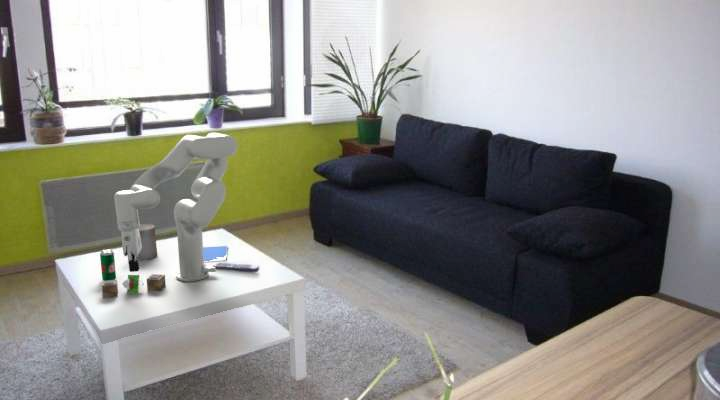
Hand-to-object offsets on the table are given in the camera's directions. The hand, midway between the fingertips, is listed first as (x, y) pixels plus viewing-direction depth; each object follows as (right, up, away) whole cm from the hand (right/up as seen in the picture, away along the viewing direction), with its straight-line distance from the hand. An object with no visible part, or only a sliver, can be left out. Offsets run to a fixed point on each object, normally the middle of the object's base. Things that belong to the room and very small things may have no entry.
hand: (134, 270), depth 240 cm
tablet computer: (+19, +1, +44) cm, 48 cm away
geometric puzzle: (-1, -8, +1) cm, 8 cm away
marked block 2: (+7, -8, +4) cm, 11 cm away
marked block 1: (-8, -9, -2) cm, 12 cm away
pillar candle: (-9, +1, +40) cm, 42 cm away
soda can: (-15, -5, +13) cm, 20 cm away
